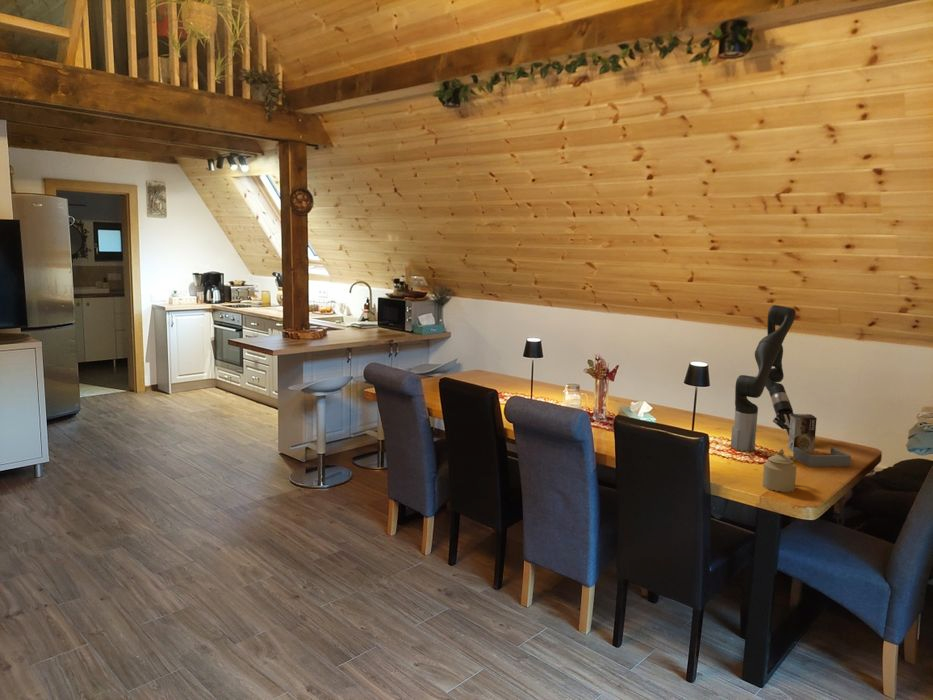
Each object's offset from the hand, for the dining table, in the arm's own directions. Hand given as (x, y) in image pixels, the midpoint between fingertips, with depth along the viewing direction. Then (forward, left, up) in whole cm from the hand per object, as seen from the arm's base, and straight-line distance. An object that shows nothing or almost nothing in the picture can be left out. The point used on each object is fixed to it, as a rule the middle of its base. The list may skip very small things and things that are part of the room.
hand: (792, 436), depth 303 cm
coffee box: (0, -7, -5) cm, 9 cm away
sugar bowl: (-33, -52, -5) cm, 62 cm away
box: (0, -24, -4) cm, 24 cm away
